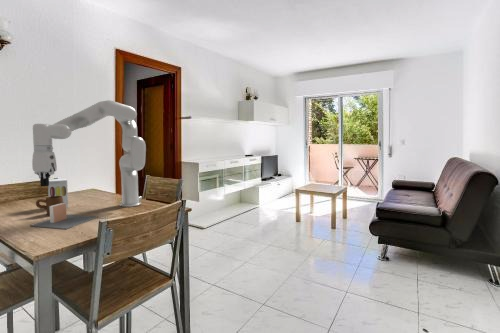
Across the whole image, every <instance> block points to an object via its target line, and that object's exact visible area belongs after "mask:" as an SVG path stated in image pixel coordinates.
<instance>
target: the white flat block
mask: <svg viewBox="0 0 500 333" xmlns="http://www.w3.org/2000/svg"><path fill="white" fill-rule="evenodd" d="M49 207H50V216H49V220H50V222H51V223H55V222H59V221H62V220H65V219H67V217H66V215H67V208H66V203H60V204H57V205H53V206H49Z"/></svg>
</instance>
